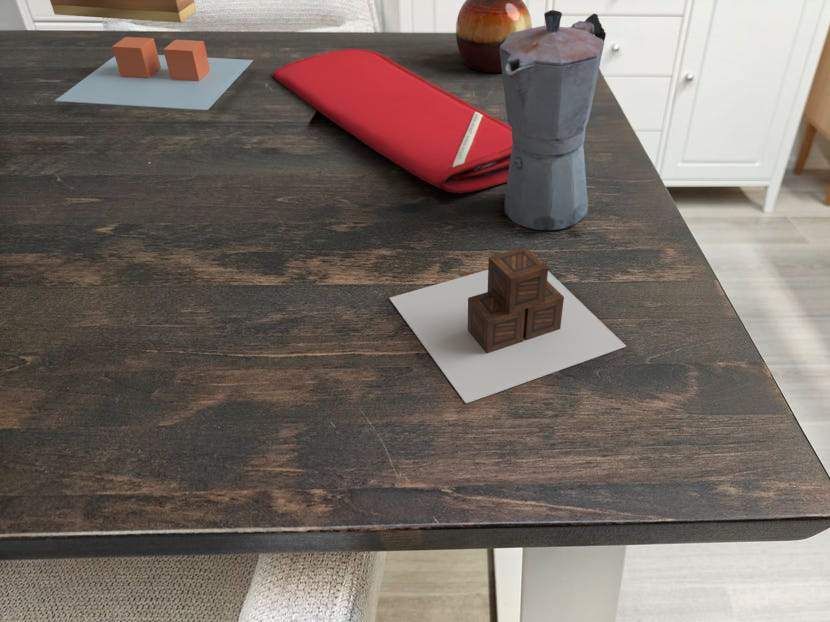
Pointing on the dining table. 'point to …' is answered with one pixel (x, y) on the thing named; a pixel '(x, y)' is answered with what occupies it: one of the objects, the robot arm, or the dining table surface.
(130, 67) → the orange cube
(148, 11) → the brush
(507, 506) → the dining table surface
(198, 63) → the right orange cube
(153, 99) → the tray
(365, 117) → the dish drying mat
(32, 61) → the dining table surface
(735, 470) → the dining table surface
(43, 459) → the dining table surface
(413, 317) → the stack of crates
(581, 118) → the moka pot
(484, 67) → the vase
